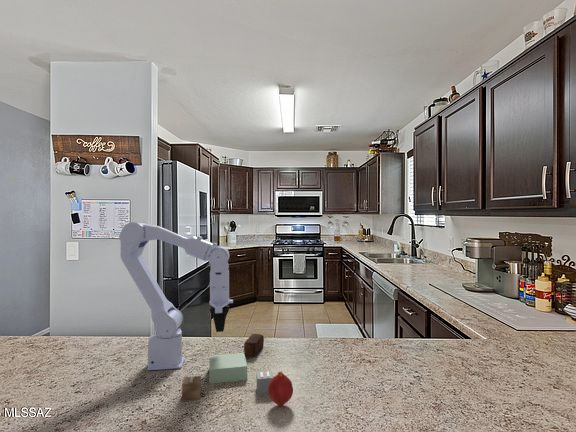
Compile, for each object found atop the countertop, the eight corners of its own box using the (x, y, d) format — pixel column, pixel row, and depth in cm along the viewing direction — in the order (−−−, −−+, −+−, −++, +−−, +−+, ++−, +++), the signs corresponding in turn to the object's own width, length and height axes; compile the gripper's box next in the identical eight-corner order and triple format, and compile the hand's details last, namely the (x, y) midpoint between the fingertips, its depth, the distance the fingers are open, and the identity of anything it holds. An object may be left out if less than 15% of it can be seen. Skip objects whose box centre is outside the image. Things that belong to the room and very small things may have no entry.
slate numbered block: (257, 395, 88) (257, 378, 88) (256, 387, 92) (256, 371, 92) (273, 393, 89) (273, 376, 89) (272, 386, 93) (271, 370, 93)
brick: (255, 358, 112) (255, 343, 112) (243, 357, 113) (243, 342, 113) (264, 346, 122) (264, 332, 122) (253, 345, 123) (252, 332, 123)
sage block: (209, 384, 95) (209, 369, 95) (209, 369, 104) (209, 355, 104) (247, 381, 97) (247, 366, 97) (244, 366, 106) (244, 352, 106)
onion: (267, 399, 86) (267, 366, 86) (291, 398, 86) (291, 365, 86) (268, 413, 80) (268, 377, 80) (294, 411, 80) (294, 375, 80)
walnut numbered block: (182, 401, 86) (182, 383, 86) (184, 393, 90) (184, 376, 90) (199, 399, 86) (199, 382, 86) (200, 392, 90) (200, 375, 90)
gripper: (232, 290, 102) (233, 338, 102) (233, 281, 117) (233, 323, 116) (207, 291, 101) (207, 339, 101) (211, 282, 116) (211, 324, 115)
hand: (219, 331), depth 109 cm, fingers closed
